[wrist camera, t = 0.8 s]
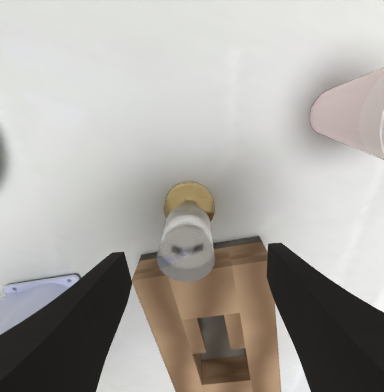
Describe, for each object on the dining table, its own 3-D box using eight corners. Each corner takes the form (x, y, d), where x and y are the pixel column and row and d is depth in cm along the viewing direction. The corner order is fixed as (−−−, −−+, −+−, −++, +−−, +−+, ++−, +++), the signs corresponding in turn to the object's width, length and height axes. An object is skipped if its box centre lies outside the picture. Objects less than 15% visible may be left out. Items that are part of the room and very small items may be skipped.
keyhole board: (183, 373, 31) (182, 407, 27) (141, 254, 23) (131, 280, 19) (271, 364, 30) (281, 398, 26) (259, 236, 22) (271, 259, 18)
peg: (171, 228, 22) (158, 293, 14) (160, 186, 20) (137, 233, 12) (216, 221, 21) (229, 283, 13) (209, 177, 19) (218, 219, 12)
